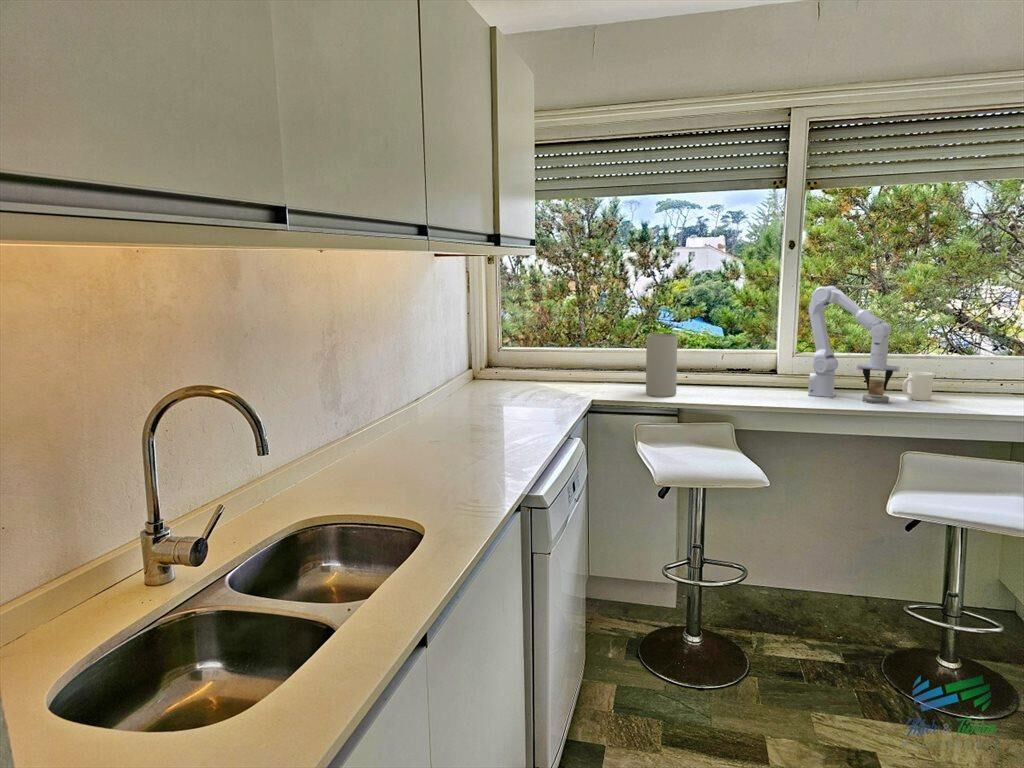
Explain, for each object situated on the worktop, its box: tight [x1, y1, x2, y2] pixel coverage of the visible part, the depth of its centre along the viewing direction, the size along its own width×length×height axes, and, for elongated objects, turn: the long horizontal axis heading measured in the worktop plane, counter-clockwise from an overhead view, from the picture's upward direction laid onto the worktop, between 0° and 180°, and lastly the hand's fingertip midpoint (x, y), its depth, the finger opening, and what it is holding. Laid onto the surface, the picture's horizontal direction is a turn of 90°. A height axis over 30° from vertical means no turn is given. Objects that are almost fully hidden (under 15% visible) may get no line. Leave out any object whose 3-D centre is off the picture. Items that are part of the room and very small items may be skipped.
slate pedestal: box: [862, 394, 890, 404], centre depth 262 cm, size 9×9×2 cm
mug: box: [901, 371, 934, 401], centre depth 264 cm, size 12×8×10 cm
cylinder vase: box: [645, 333, 678, 398], centre depth 283 cm, size 12×12×25 cm
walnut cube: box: [867, 378, 885, 395], centre depth 261 cm, size 5×5×5 cm
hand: (876, 389), depth 261 cm, fingers closed on walnut cube, 5 cm apart
